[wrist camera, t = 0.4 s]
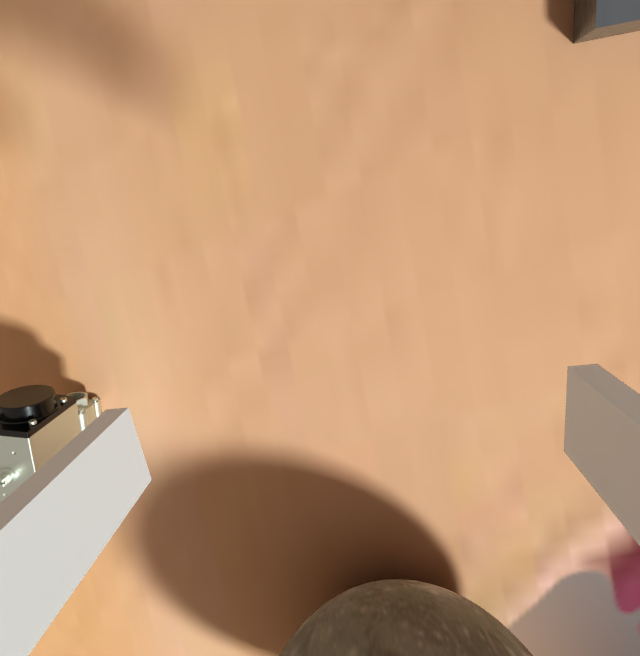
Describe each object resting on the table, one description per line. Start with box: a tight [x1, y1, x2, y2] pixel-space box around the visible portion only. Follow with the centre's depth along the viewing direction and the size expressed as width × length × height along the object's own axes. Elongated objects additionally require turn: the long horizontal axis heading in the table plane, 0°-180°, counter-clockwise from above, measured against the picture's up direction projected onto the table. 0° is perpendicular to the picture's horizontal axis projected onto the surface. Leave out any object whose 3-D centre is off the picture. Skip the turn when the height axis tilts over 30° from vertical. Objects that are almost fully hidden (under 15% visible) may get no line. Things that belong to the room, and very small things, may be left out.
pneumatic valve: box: [0, 385, 102, 503], centre depth 39 cm, size 6×12×12 cm, turn 177°
